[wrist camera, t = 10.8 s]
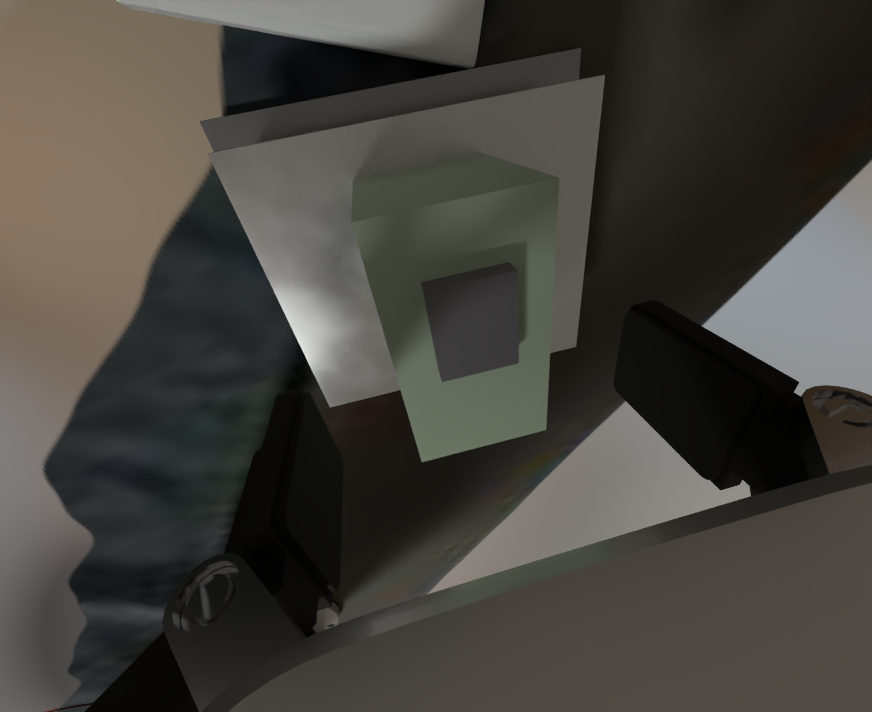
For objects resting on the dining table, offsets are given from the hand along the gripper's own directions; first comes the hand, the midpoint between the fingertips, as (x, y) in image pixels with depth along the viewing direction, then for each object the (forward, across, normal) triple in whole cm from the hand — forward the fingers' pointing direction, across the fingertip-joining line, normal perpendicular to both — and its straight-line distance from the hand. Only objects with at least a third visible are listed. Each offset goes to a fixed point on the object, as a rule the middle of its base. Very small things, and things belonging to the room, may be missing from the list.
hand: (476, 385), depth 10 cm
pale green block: (+7, 0, -1) cm, 7 cm away
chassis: (+11, 0, -1) cm, 11 cm away
